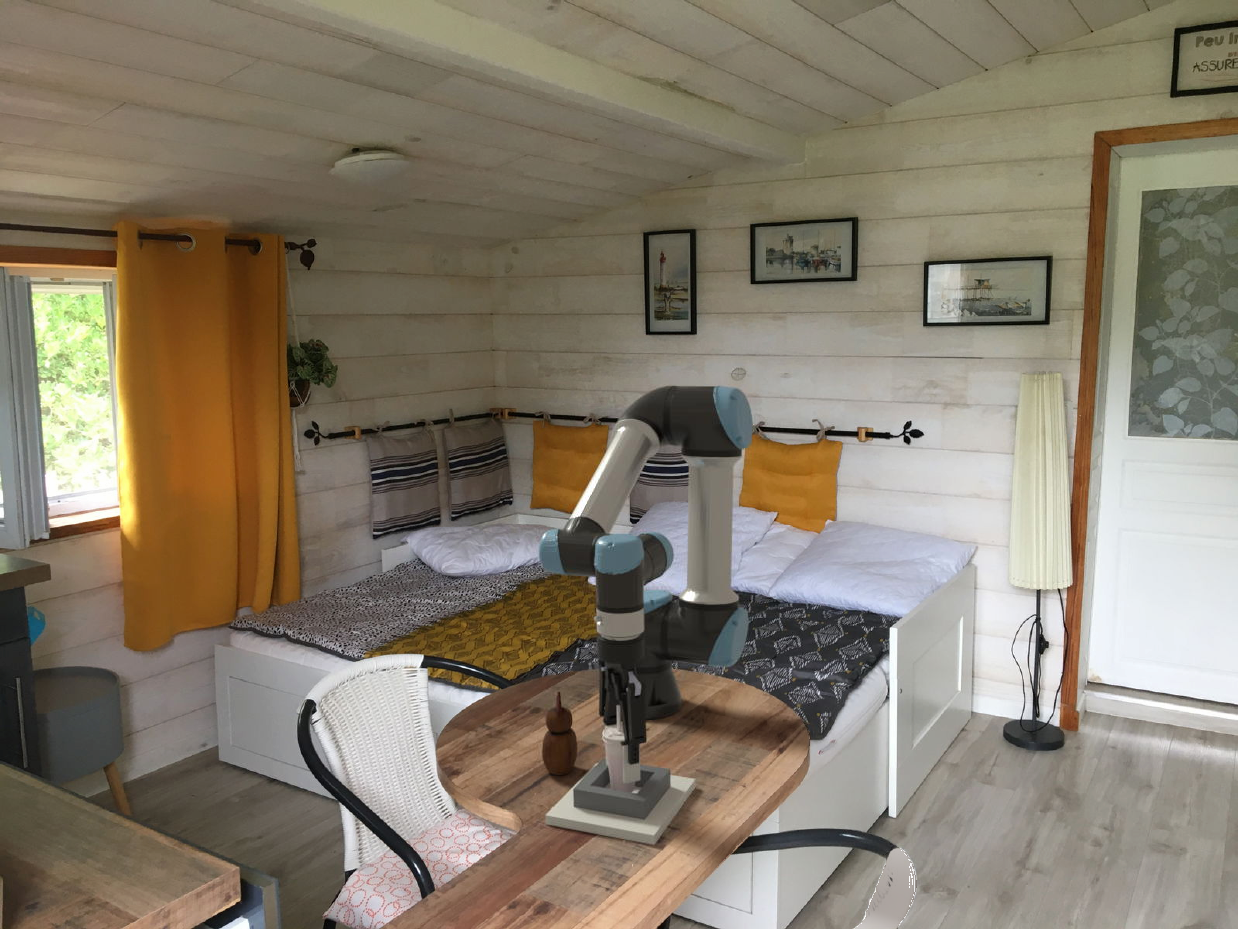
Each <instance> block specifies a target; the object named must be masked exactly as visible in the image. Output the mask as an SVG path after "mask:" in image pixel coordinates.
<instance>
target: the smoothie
mask: <svg viewBox="0 0 1238 929" xmlns="http://www.w3.org/2000/svg"><path fill="white" fill-rule="evenodd" d="M620 723H621V722H620V705H617V725H613V726H610V727H607V728H606V729H603V731H602V737H601V739H602V741H603V742H604V747H605V756H606V755H607V762H608V769H609V775H610V782H611V789H613V790H619V791H625V792H633V791H634V788H635V781H634V782H630V783H624V782H623V766H622V745H621V743H620V742H622V741H625V739H624V732H623V724H622V723H621V724H620Z"/></svg>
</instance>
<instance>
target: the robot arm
mask: <svg viewBox="0 0 1238 929" xmlns="http://www.w3.org/2000/svg"><path fill="white" fill-rule="evenodd" d="M753 425H754V423H753V415H752V409H751V405H750V403H749V400H748V398H747V395H746V394H745V393H744V391H742V390H741V389H740V388H737V387H731V386H724V385H723V386H721V385H715V386H714V385H710V386H709V385H705V386H704V385H665V386H661V387H657V388H655V389H653V390H650V391H649V392H646V393H645V394H643V395H642V396H640V397H639V398H637V399H636V400H635V401H633V403H631V404H630V405H629V406H628V407H626V409H625V410H624V411H623V413H622V414H621V415H620V416H619V418H618V419H617V421H616V422H615V424H614V426H613V428H612V432H611V436H612V441H611V443H610V445H609V446H608V448H607V450H606V452H605V454H604V455H603V457H602V459H601V460H600V463H599V464H598V466H597V468H596V470H595V472H594V473H593V475H592V477H591V478H590V481H589V483H588V484H587V486H586V488H585V490H584V491H583V493H582V496H580V498H579V500H578V502H577V504H576V506H575V508H574V510H573V511H572V513H571V515H570V516H569V519H568V521H566V523H565V526H564V527H563V528H562V529H561V528H555V529H549V530H547V531H544V533H543V535H542V536H541V539H540V541H539V546H538V558H539V561H540V563H541V567H542V568H543V569H544V570H545V571H546V572H548V573H552V574H558V575H564V576H578V577H590V578H595V598H596V601H595V602H596V603H595V606H596V610H595V611H596V615H595V616H594V617H593V620H594V622H595V623H596V631H597V633H598V634H597V636H596V656H597V658H598V661H597V663H598V670H599V676H598V677H599V682H598V684H599V686H598V688H599V689H598V691H599V693H598V695H599V696H598V697H599V698H598V702H599V703H598V716H600V717H601V718H602V721H603V724H604V725H605V726H604V728H605V729H606V728H607V727H610V726H613V725H617V705H620V724H623V732H624V739H625V741H622V742H620V743H621V745H622V766H623V782H624V783H630V782H634V781H639V780H640V764H641V745H642V744H646V743H647V740H648V739H647V721H646V720H654V719H655V720H656V719H660V718H665V717H669V716H671V715H674V714H675V713H677V712H678V711H680V709H681V707H682V694H681V690H680V688H679V684H678V682H677V678H676V676H675V672H674V670H673V662H676V663H677V662H679V663H685V664H686V663H687V664H694V665H700V666H701V665H702V666H708V667H710V668H714V667H719V668H720V667H721V668H730V667H732V666H734V665H735V664H736V663H737V662H738V660H739V659H740V657H741V655H742V652H743V650H744V648H745V645H746V641H747V636H748V632H749V620H750V619H749V618H750V617H749V613H748V610H747V609H746V608H744V607H739V605H740V604H739V603H740V601H739V600H740V598H739V595H738V594H737V593H736V592H735V591H734V590H733V589H732V566H733V565H732V561H733V560H732V558H733V557H732V556H733V554H732V553H733V552H732V551H733V511H734V510H733V508H734V507H733V506H734V504H733V503H734V466H735V465H736V464H737V463H738V461H740V460H741V459H742V454H743V450H745V449H747V448H749V447H750V445H751V444H752V441H753V440H752V439H753V437H752V436H753V432H754V429H753V428H754V426H753ZM666 446H674V447H675V446H676V447H680V456H681V458H682V459H683V460H684V461H685V462H686V464H687V465H688V497H687V498H688V500H687V502H688V504H687V507H688V508H687V551H686V552H687V555H686V556H687V557H686V558H687V563H686V570H687V571H686V588H685V589H683V590H682V591H681V592H680V593H679V594H678V601H673V595H672V593H671V592H670V591H667V590H665V589H651V590H649V589H647V590H644V587H645V586H647V584H649V583H652V581H655V580H657V579H659V578H661V577H662V576H663V575H664V573H666V572H667V571H668V570H669V569H670V568H671V566H672V565H673V562H674V556H675V553H674V552H675V551H674V548H673V544H672V543H671V541H670V540H669V538H667V537H666V536H665V535H663V534H662V533H659V532H656V531H649V532H643V533H640V534H639V535H634V534H631V533H630V534H629V533H628V534H627V533H611V532H612V530H613V528H614V526H615V524H616V522H617V521H618V520H617V519H618V518H619V516H620V514H621V512H622V510H623V508H624V507H625V504H626V502H627V500H628V498H629V497H630V495H631V492H632V490H633V488H634V487H635V486H636V483H637V480H639V477H640V475H641V473H642V471H643V469H644V468H645V465H646V464H647V462H648V459H651V458H653V457H654V456H655V455H656V454H657V453H658V452H659V450H660V448H661V447H666ZM605 759H606V764H607V766H608V762H607V755H606V754H605Z"/></svg>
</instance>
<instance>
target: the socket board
mask: <svg viewBox="0 0 1238 929" xmlns="http://www.w3.org/2000/svg"><path fill="white" fill-rule="evenodd" d="M696 786H697V785H696V778H691V777H685V776H680V775H675V774H674V775H672V774H671V769H670V768H666V767H659V766H653V765H646V764H641V763H640V780H639V781H635V788H634V791H633V792H625V791H619V790H613V789H611V782H610V775H609V769H608V766H607V764H606V758H604V757H603V758H601V760H600V761H599V762H596V763H595V764H594V765H593V766H592V767H591V768H590V769H589V770H588V771H587V772H586V773H585V774H584V775H583V776H582V777H581V778H580V779H579V780H578V781H577V782H576V783H575V784H574V785H573V786H572V788H570V789H569V791H567V792H566V793H565V795H564V796H563V797H562V798H561V799H559V801H558V802H557V803H556V804H555V805H553V807H552V808H550V810H549V811H548V812H546V814H545V825H548V826H553V827H559V828H563V829H569V830H573V831H574V830H575V831H579V832H585V833H589V834H597V835H601V836H606V837H610V838H616V839H623V840H626V841H632V842H637V843H642V844H648V845H653V846H655V844H656V843H657V842H658V841H659V839H660V837H661V836H662V835H663V833H664V832H665V831H666V829H667V827H668V826H669V825H670V823H671V822H672V821H673V819H674V818H675V817H676V815H677V814H678V812H679V811H680V810H681V808H682V807H683V806H682V805H684V804H685V803H686V802H687V800H688V799H689V797H690V796H691V794H692V793H693V792H694V790H695V789H696V788H695V787H696ZM692 791H693V792H692ZM689 795H690V796H689ZM687 798H688V799H687ZM684 802H685V803H684Z"/></svg>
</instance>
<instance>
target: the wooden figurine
mask: <svg viewBox="0 0 1238 929" xmlns="http://www.w3.org/2000/svg"><path fill="white" fill-rule="evenodd" d="M561 698H562V697H561V691H557V695H556V699H555V700H556V701H555V707H551V708H549V709H548V710H547V713H546V716H545V726H546V728H547V731H546V732H545V734H544V737H543V740H542V748H541V756H542V760H543V764H544V766H545V769H546V770H547V772H548V773H550V774H551V775H555V776H565V775H567V774H569V773H570V772H572V770H573V769H574V767H575V764H576V760H577V757H578V739H577V734H576V733H575V730H574V729H573V728H572V726H573V714H572V712H571V710H570V708H568V707H565V706H562V699H561Z"/></svg>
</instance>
